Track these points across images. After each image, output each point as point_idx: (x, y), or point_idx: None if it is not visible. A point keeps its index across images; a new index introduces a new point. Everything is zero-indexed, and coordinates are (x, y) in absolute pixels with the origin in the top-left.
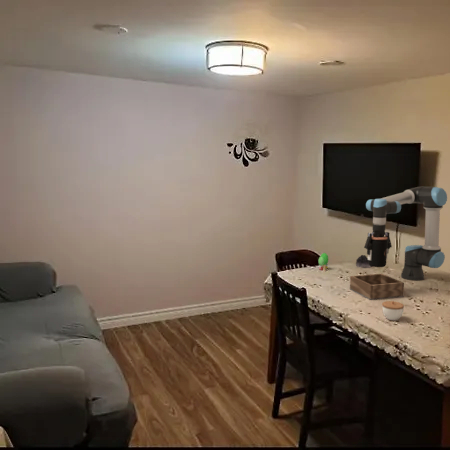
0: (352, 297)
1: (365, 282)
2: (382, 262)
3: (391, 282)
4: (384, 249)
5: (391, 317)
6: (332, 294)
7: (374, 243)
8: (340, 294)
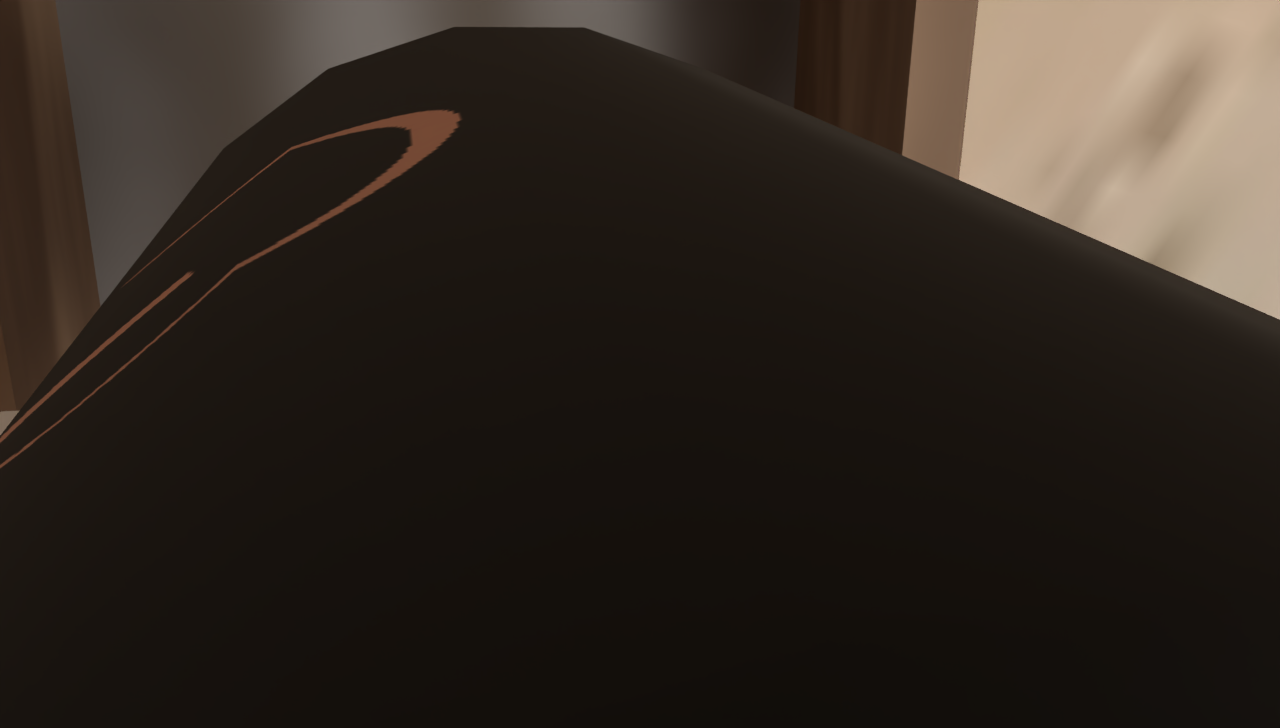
0: (1063, 22)
1: (938, 33)
2: (529, 37)
3: (13, 167)
4: (498, 195)
5: None
6: (1253, 284)
7: None
8: (1137, 251)
